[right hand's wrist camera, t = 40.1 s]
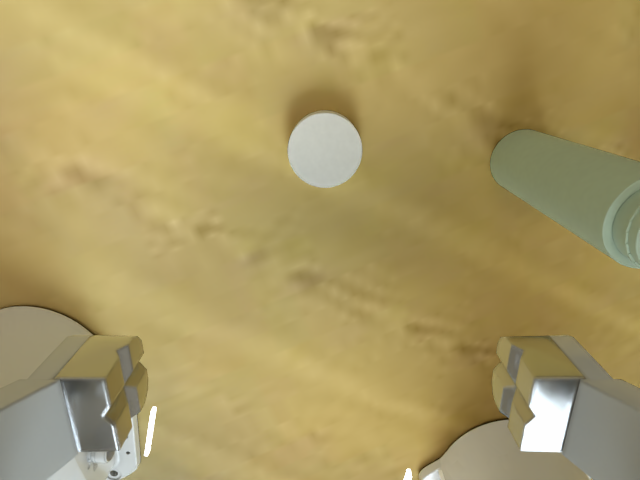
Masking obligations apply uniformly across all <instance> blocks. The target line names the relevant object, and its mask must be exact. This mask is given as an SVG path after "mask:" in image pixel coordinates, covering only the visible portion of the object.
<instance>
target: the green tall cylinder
mask: <svg viewBox="0 0 640 480" xmlns="http://www.w3.org/2000/svg"><path fill="white" fill-rule="evenodd" d="M490 169H491V173H492V176H493V178H494V179H495V181H496V182H497V183H498V184H499V185H501V186H502V187H504V188H505V189H507V190H508V191H510V192H511V193H513V194H514V195H516V196H517V197H519V198H520V199H522V200H523V201H525V202H526V203H528V204H530V205H531V206H533V207H534V208H536V209H537V210H539V211H540V212H542V213H543V214H545V215H546V216H548V217H549V218H551V219H552V220H554V221H555V222H557V223H559V224H560V225H562V226H563V227H565V228H566V229H568V230H569V231H571V232H572V233H574V234H575V235H577V236H578V237H580V238H581V239H583V240H584V241H586V242H587V243H589V244H591V245H592V246H594V247H595V248H597V249H598V250H600V251H601V252H603V253H604V254H606V255H607V256H609V257H610V258H612V259H613V260H615V261H617V262H618V263H620V264H622V265H624V266H627V267H631V268H640V162H639V161H635V160H632V159H629V158H625V157H622V156H618V155H615V154H612V153H608V152H605V151H602V150H598V149H595V148H591V147H588V146H585V145H581V144H578V143H575V142H571V141H568V140H564V139H561V138H558V137H554V136H551V135H548V134H544V133H541V132H538V131H534V130H529V129H523V130H517V131H514V132H512V133H510V134H508V135H507V136H505V137H504V138H503V139H502V140H501V141H500V142H499V143H498V144H497V145H496V147H495V149H494V150H493V153H492V156H491V160H490Z"/></svg>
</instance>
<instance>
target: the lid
mask: <svg viewBox="0 0 640 480" xmlns="http://www.w3.org/2000/svg"><path fill="white" fill-rule="evenodd" d="M288 158H289V162H290V165H291V167H292V169H293V170H294V172H295V173H296V175H297V176H298V177H299V178H300V179H302V180H303V181H304V182H306V183H308V184H310V185H312V186H315V187H321V188H328V187H334V186H337V185H340V184H342V183H344V182H345V181H347V180H348V179H349V178H350V177H351V176H352V175H353V174H354V173H355V172H356V170H357V168H358V166H359V164H360V161H361V158H362V143H361V139H360V136H359V134H358V132H357V130H356V128H355V127H354V125H353V124H352V123H351V121H350V120H348V119H347V118H346V117H345V116H343V115H341V114H339V113H337V112H334V111H328V110H321V111H316V112H313V113H310V114H308V115H306V116H305V117H303V118H302V119H301V120H300V121H299V122H298V123H297V124H296V126H295V127H294V129H293V131H292V133H291V136H290V139H289V142H288Z"/></svg>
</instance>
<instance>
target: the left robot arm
mask: <svg viewBox="0 0 640 480" xmlns="http://www.w3.org/2000/svg"><path fill="white" fill-rule="evenodd" d="M508 422H509V420H501V421H496V422H491V423H488V424H485V425H482V426H479V427H477V428H475V429H473V430H471V431H469V432H467V433H466V434H464V435H463V436H462V437H460V438H459V439H458V440H457V441H455V442H454V443H453V444H452V445H451V447H450V448H449V449H448V450H447V451H446V453H445V454H444V455H443V456H442V457H441V458H440V459H438V460H437V461H435V462H433V463H431V464H430V465H428V466H426V467H425V468H424V469H422V470H421V471H420V473H419V480H590V477H589V476H588V475H587V474H586V473H584V472H583V471H582V470H581V469H579V468H578V467H577V466H576V465H574V464H573V463H572V462H571V461H570V460H568V459H567V458H566V457H565V456H563V455H562V452H536V451H520V449H519V447H518V446H517V444H516V442H515V440H514V438H513V436H512V434H511V432H510V430H509V429H508ZM411 478H412V475H411V470H410V469H407V471H406V474H405V478H404V480H411Z"/></svg>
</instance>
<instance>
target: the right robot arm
mask: <svg viewBox="0 0 640 480" xmlns="http://www.w3.org/2000/svg"><path fill="white" fill-rule="evenodd" d="M143 354H144V350H143V345H142V340H141V339H140V338H139V337H138V336H104V335H95V336H94V335H93V334H91V333H90V332H89V331H88V330H87V329H85V328H84V327H83V326H81V325H80V324H78V323H77V322H75V321H74V320H72V319H70V318H68V317H66V316H64V315H62V314H59V313H57V312H54V311H51V310H47V309H43V308H38V307H30V306H15V307H8V308H3V309H0V480H119V479H122V478H124V477H126V476H128V475H129V474H131V473H132V472H134V471H135V470H136V469H137V467H138V466H139V464H140V460H141V457H140V444H139V432H138V420H137V414H138V413H139V412H140V411H141V409H142V407H143V405H144V403H145V400H146V396H147V391H148V374H147V369H146V368H145V367H144V366H143V365H142V364H141V363H140V362H139V360H140V358H141V357H142V355H143ZM496 354H497V355H498V357H499V358H500V360H501V362H500V363H499V364H498V365H497V366H496V367H495V368H494V369H493V375H492V391H493V397H494V400H495V403H496V405H497V407H498V409H499V411H500V412H501V413H502V414H504V415H505V416H507V417H508V418H509V422H508V429H509V430H510V432H511V434H512V436H513V438H514V440H515V442H516V444H517V446H518V447H519V449H520V451H536V452H562V455H563V456H565V457H566V458H567V459H568V460H570V461H571V462H572V463H573V464H574V465H576V466H577V467H578V468H579V469H581V470H582V471H583V472H584V473H586V474H587V475H588V476H589V477H590V478H592V479H593V480H640V388H638V387H636V386H634V385H632V384H629V383H627V382H625V381H623V380H621V379H613V378H612V377H611V376H610V375H609V374H608V373H607V372H606V371H605V370H604V369H603V368H602V367H601V366H600V365H599V364H598V363H597V362H596V360H595V359H594V358H593V357H592V356H591V355H590V354H589V353H588V352H587V351H586V350H585V349H584V348H583V347H582V346H581V345H580V344H579V343H578V341H577V340H576V339H575V338H574V337H572V336H569V335H550V336H519V337H500V339H499V341H498V344H497V350H496ZM156 408H157V407H153V408H152V410H151V413H150V420H149V427H148V434H147V441H146V448H145V455H144V456H148V454H149V452H150V447H151V441H152V434H153V428H154V421H155V414H156Z"/></svg>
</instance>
